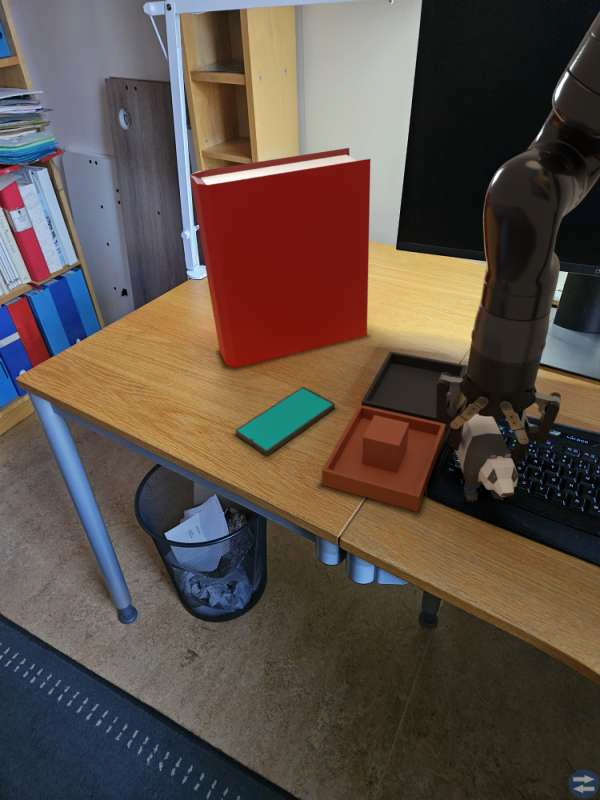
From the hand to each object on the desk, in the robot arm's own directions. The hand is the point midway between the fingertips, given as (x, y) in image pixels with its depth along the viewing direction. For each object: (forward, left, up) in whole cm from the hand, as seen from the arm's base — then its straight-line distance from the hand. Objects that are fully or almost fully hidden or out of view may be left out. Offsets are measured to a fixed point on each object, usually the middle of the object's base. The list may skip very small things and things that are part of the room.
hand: (484, 452), depth 71 cm
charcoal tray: (+13, -16, -6) cm, 21 cm away
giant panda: (0, 0, -6) cm, 6 cm away
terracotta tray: (+13, 0, -6) cm, 14 cm away
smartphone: (+30, -3, -6) cm, 31 cm away
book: (+39, -25, -6) cm, 47 cm away
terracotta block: (+13, 0, -5) cm, 14 cm away
